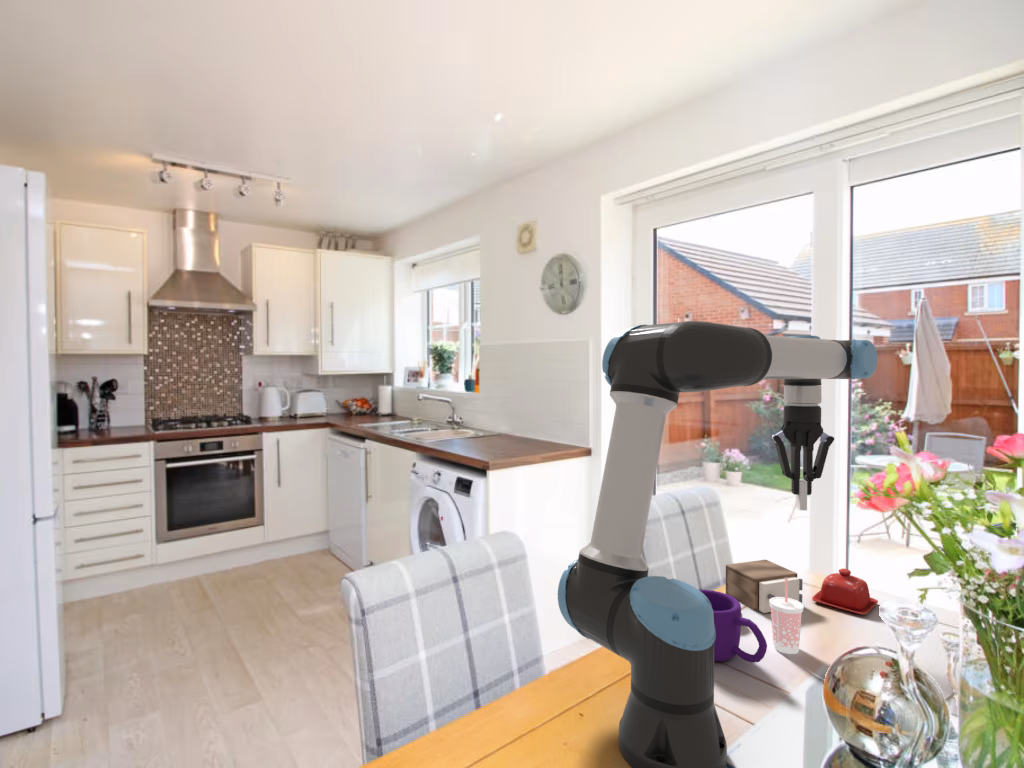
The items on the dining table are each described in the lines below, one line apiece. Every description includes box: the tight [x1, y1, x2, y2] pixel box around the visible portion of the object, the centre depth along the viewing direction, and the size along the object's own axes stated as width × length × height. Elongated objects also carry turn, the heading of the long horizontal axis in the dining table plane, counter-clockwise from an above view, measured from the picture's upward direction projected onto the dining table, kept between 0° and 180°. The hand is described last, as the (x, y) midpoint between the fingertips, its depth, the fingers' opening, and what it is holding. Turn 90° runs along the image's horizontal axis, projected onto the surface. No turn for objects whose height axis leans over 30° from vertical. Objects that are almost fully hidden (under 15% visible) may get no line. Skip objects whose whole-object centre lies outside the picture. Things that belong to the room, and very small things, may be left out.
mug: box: [699, 589, 768, 664], centre depth 106 cm, size 17×11×10 cm, turn 35°
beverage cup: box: [769, 577, 804, 655], centre depth 109 cm, size 6×6×14 cm
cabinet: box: [725, 559, 798, 612], centre depth 132 cm, size 10×12×8 cm
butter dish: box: [811, 568, 879, 616], centre depth 130 cm, size 12×12×8 cm
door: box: [758, 577, 803, 614], centre depth 126 cm, size 12×3×6 cm, turn 109°
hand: (801, 508), depth 124 cm, fingers closed
